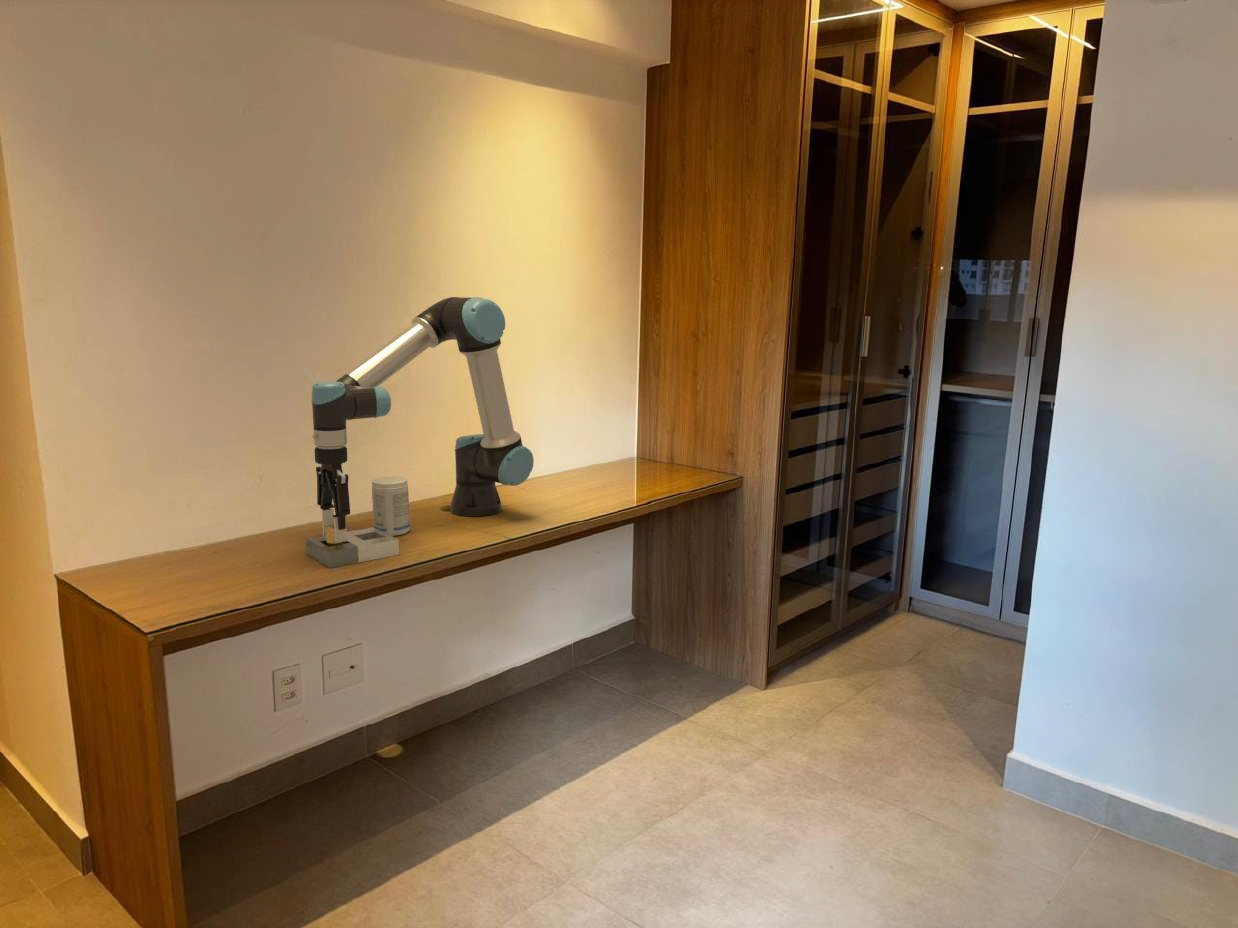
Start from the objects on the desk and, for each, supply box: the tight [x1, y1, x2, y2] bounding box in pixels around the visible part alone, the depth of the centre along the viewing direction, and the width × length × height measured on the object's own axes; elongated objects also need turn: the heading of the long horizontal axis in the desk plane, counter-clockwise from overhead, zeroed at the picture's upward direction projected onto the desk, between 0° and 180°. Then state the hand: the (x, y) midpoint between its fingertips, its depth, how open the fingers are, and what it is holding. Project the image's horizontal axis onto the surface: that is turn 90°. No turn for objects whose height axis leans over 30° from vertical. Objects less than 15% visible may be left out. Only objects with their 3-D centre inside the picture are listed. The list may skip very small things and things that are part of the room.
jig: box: [305, 526, 400, 569], centre depth 223 cm, size 18×14×4 cm
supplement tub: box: [371, 476, 411, 537], centre depth 243 cm, size 10×10×15 cm
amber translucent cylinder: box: [326, 525, 343, 547], centre depth 220 cm, size 4×4×8 cm
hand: (334, 538), depth 220 cm, fingers open, 7 cm apart
